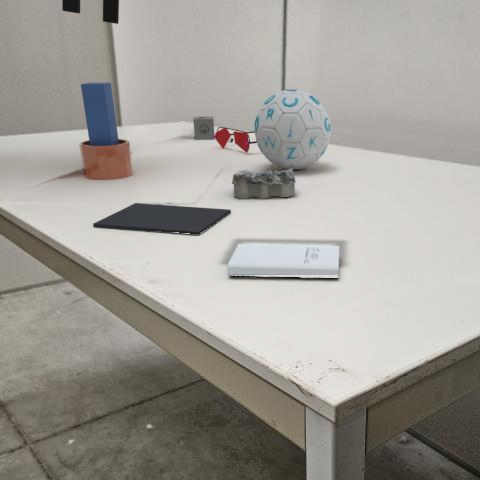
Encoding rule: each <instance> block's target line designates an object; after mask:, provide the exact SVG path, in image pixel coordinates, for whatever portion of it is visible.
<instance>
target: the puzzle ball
mask: <svg viewBox="0 0 480 480" xmlns="http://www.w3.org/2000/svg"><path fill="white" fill-rule="evenodd" d="M253 127H254V131H255V133H254V136H255V141H257V142H256V143H255V144H256V145H257V147H258V148H259V151H260V153H262V155H263V156H264V157H265V159H266V160H268V161H269V162H270V163H272V164H273V165H275V166H277V167H278V168H282V169H286V170H288V169H290V168H292V170H293V171H294V170H295V171H296V170H301V169H302V170H303V169H306V168H309V167H310V166H312V165H314V164H315V163H318V162H319V160H320V159H321V158H322V157H323V155H324V154H325V153H326V151H327V150H328V146H329V143H330V141H331V137H332V123H331V119H330V116H329V114H328V111H327V109H326V107H325V105H323V104H322V103H321V102H320V100H319V99H318V98H317V97H315V96H314V95H312V94H311V93H309V92H306V91H304V90H299V89H292V88H291V89H287V88H285V89H284V90H281V91H278V92H276V93H274V94H273V95H271V96H269V97H267V99H266V100H265V101H264V102H263V104H262V105H261V106H260V107H259V109H258V111H257V114H256V116H255V120H254V126H253Z"/></svg>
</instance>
